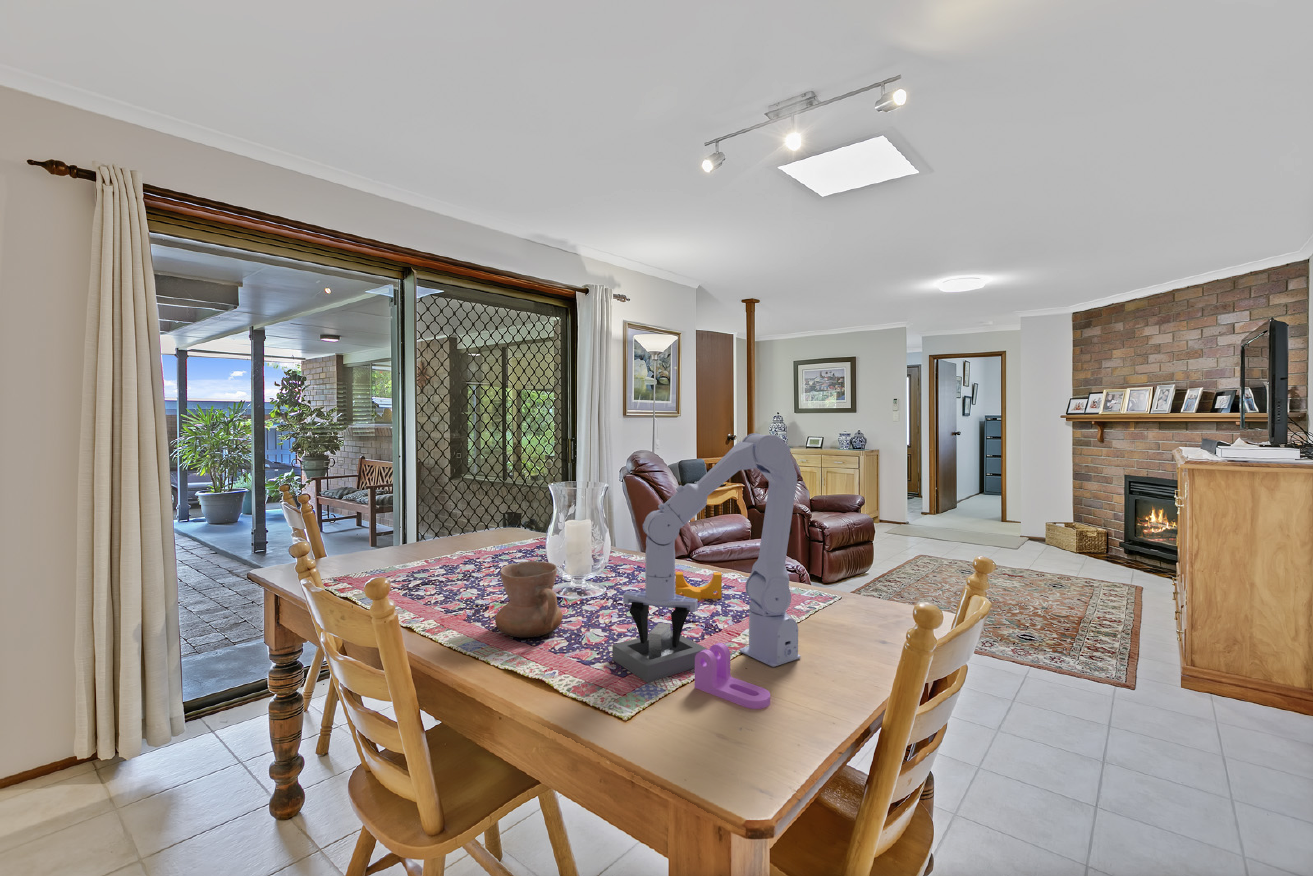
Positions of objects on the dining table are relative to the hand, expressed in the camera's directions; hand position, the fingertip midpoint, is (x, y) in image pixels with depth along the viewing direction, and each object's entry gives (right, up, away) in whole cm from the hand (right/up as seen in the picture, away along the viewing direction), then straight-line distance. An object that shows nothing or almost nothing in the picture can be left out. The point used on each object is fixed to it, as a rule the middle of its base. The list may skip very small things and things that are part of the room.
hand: (659, 643), depth 114 cm
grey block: (0, -3, 0) cm, 3 cm away
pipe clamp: (+10, -3, +41) cm, 42 cm away
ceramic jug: (-28, -3, +16) cm, 32 cm away
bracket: (+13, -5, -13) cm, 19 cm away
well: (0, -4, 0) cm, 4 cm away
